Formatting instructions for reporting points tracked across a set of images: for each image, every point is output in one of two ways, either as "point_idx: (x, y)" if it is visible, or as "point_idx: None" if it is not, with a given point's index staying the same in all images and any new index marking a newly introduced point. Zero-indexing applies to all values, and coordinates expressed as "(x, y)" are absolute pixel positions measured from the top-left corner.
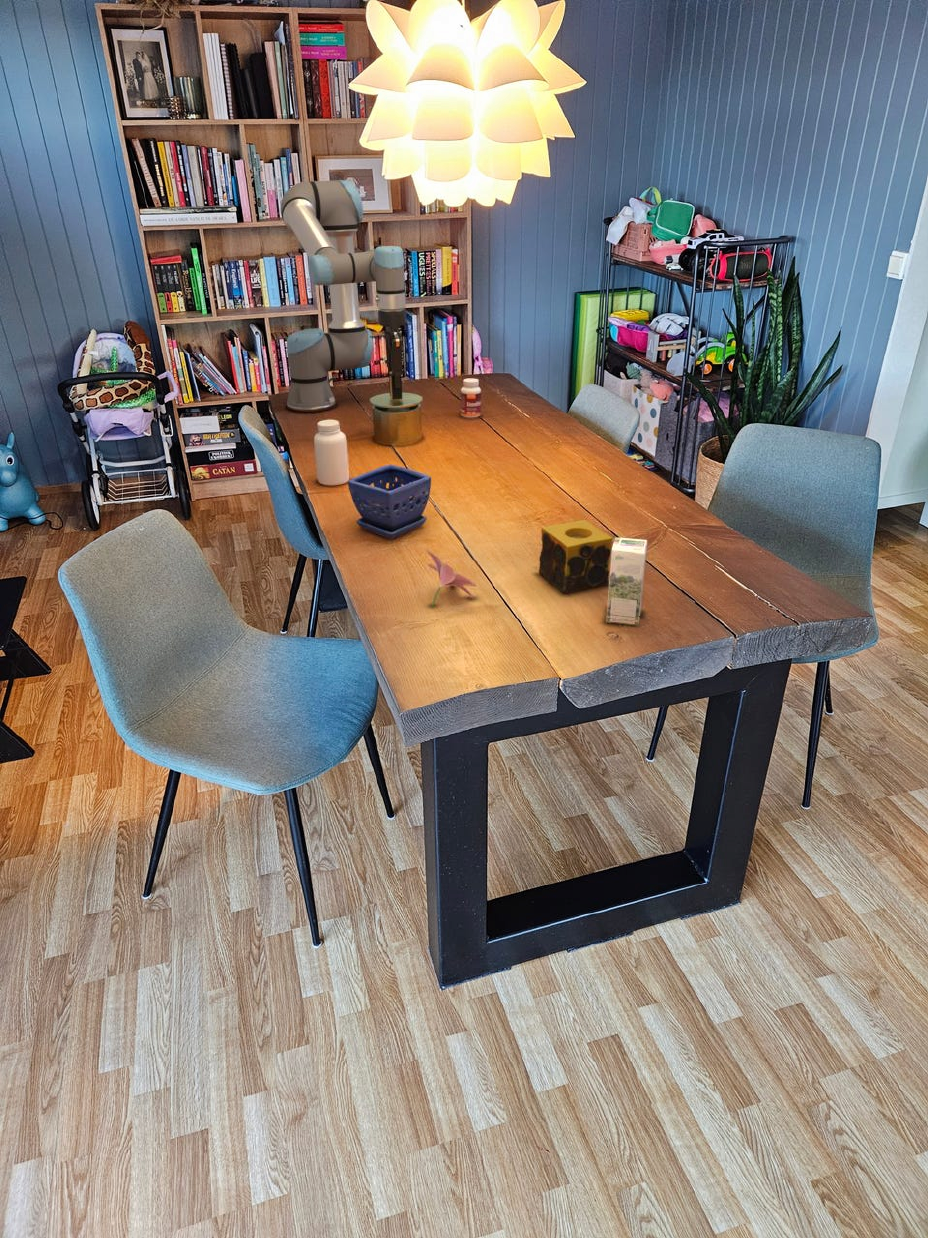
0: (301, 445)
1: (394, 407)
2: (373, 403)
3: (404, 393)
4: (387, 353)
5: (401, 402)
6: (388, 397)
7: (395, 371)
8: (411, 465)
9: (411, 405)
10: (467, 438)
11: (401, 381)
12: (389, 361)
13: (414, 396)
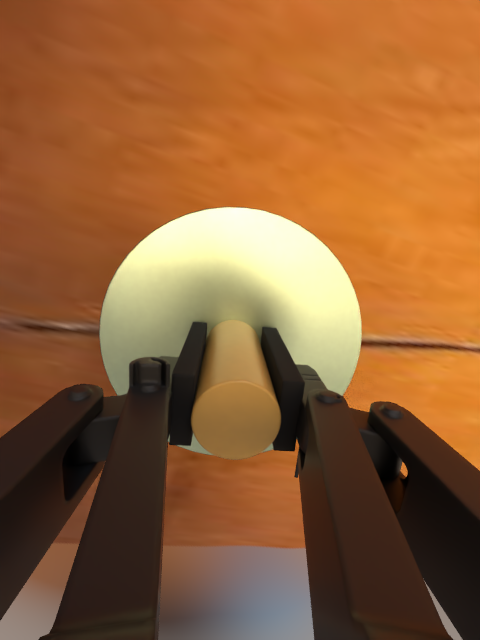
0: (192, 536)
1: (348, 381)
2: (263, 451)
3: (136, 276)
4: (23, 575)
5: (302, 338)
6: None
7: (407, 480)
8: (473, 333)
9: (356, 302)
10: (321, 67)
11: (295, 364)
12: (164, 509)
13: (217, 243)
